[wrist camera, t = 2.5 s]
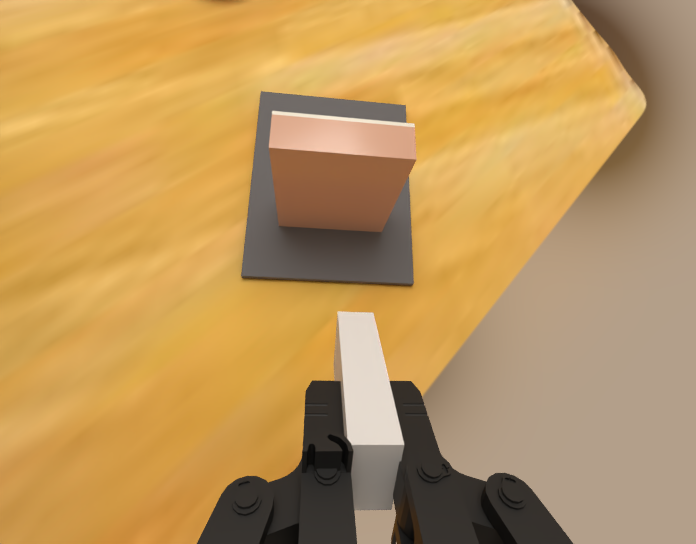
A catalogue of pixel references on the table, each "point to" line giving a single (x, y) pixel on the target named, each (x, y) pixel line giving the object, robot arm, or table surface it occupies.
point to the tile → (338, 170)
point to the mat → (314, 243)
